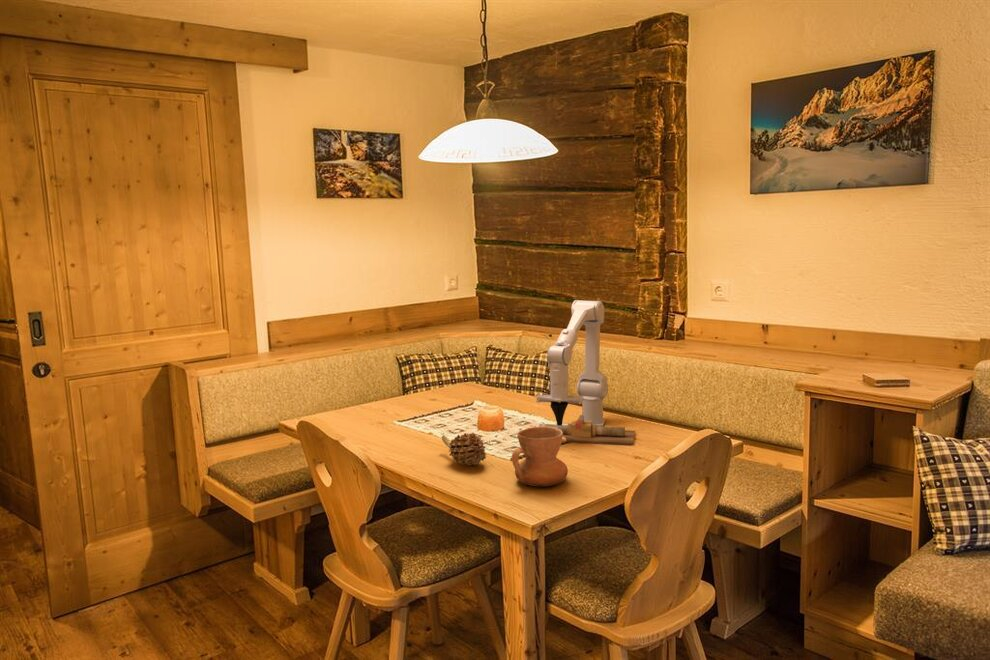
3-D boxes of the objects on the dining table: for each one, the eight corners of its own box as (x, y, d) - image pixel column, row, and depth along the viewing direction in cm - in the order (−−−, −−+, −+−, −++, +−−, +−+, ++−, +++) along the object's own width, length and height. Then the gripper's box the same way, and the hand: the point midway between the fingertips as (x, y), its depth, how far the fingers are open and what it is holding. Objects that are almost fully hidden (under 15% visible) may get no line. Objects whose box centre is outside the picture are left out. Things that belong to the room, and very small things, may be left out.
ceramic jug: (550, 468, 214) (548, 420, 212) (582, 482, 202) (581, 431, 200) (498, 482, 205) (496, 432, 203) (528, 497, 193) (526, 445, 191)
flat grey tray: (534, 428, 255) (534, 415, 254) (634, 433, 247) (635, 419, 247) (527, 440, 241) (527, 426, 241) (633, 445, 234) (633, 430, 233)
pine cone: (496, 467, 216) (495, 434, 215) (470, 475, 210) (469, 441, 209) (451, 450, 233) (450, 419, 232) (426, 457, 227) (425, 425, 226)
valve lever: (579, 421, 245) (579, 414, 244) (584, 421, 244) (584, 414, 244) (575, 430, 234) (575, 423, 233) (581, 430, 233) (581, 423, 233)
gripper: (534, 385, 233) (535, 427, 235) (580, 386, 230) (580, 429, 232) (538, 380, 240) (538, 421, 242) (583, 381, 236) (583, 423, 238)
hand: (559, 424), depth 237 cm, fingers closed
